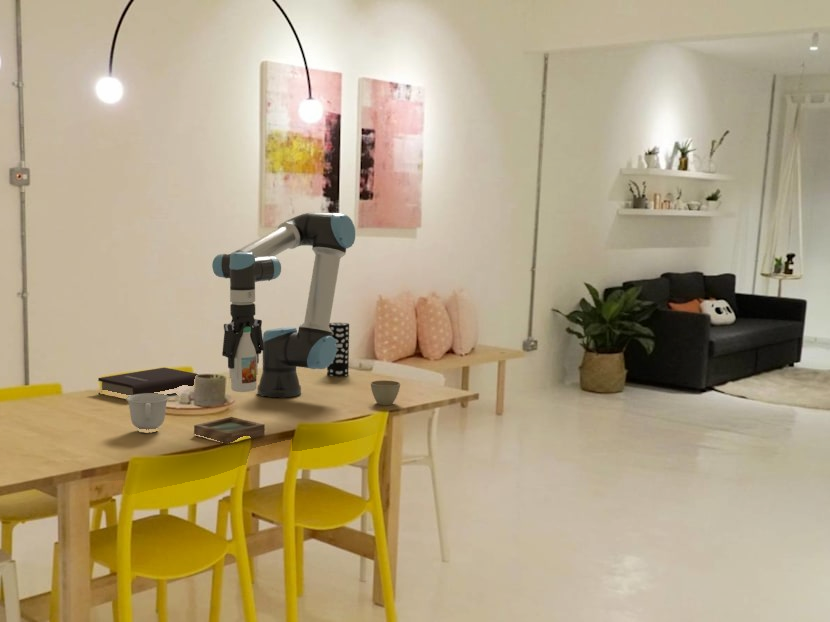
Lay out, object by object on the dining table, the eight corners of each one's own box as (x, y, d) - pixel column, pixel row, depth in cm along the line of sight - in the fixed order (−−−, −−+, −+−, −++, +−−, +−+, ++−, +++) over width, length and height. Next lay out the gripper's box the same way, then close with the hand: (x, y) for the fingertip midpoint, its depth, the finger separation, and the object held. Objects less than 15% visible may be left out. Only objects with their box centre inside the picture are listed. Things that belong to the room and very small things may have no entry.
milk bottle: (232, 393, 284) (231, 328, 281) (230, 387, 292) (229, 324, 289) (257, 392, 286) (257, 327, 283) (255, 386, 294) (254, 323, 291)
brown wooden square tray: (194, 436, 267) (194, 425, 266) (231, 427, 278) (231, 416, 277) (227, 444, 258) (227, 433, 258) (264, 435, 270) (264, 424, 269)
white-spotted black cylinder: (352, 374, 366) (353, 323, 364) (339, 377, 359) (340, 326, 357) (335, 372, 371) (336, 322, 368) (322, 375, 364) (323, 324, 361)
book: (135, 403, 308) (134, 385, 308) (98, 395, 320) (98, 378, 319) (200, 390, 331) (200, 374, 330) (164, 383, 342) (164, 367, 341)
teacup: (125, 439, 261) (125, 404, 260) (126, 427, 275) (126, 393, 274) (170, 437, 264) (170, 403, 263) (168, 425, 278) (168, 392, 277)
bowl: (396, 407, 310) (396, 386, 309) (367, 405, 312) (367, 384, 311) (402, 401, 320) (403, 381, 319) (374, 399, 321) (374, 379, 321)
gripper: (225, 307, 275) (226, 383, 278) (275, 300, 291) (276, 372, 294) (208, 305, 279) (209, 380, 282) (258, 298, 296) (259, 369, 299)
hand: (243, 376), depth 288 cm, fingers closed on milk bottle, 8 cm apart
